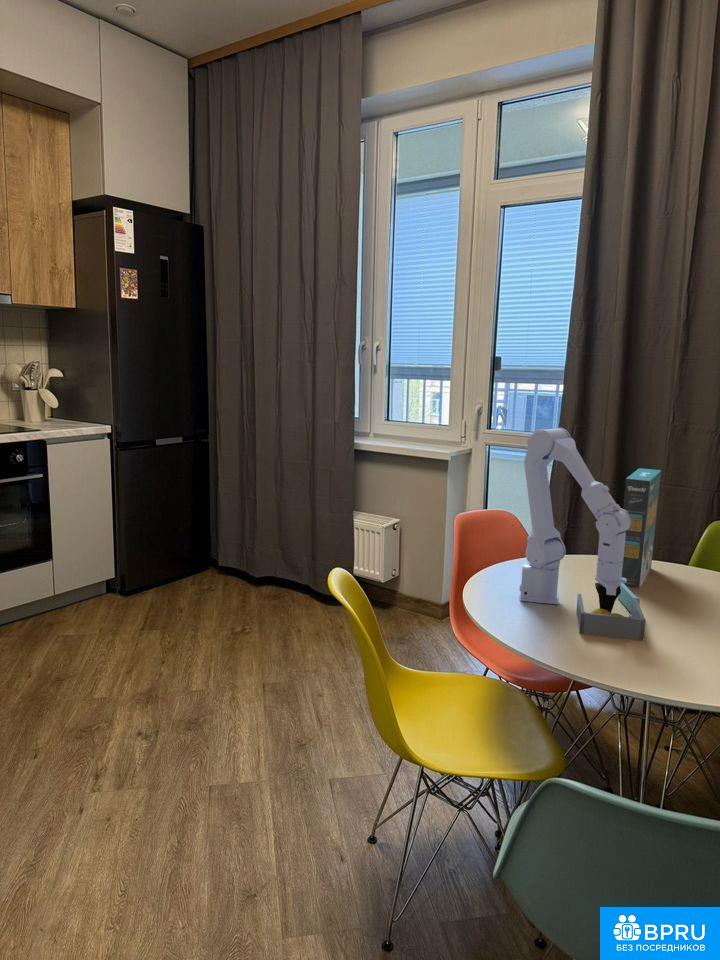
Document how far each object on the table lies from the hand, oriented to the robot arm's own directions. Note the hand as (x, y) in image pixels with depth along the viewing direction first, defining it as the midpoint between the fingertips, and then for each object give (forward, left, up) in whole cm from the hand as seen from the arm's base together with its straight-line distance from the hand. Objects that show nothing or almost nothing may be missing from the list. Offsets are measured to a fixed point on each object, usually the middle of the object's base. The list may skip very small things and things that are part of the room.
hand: (605, 614), depth 163 cm
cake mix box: (+11, +37, -1) cm, 39 cm away
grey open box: (+1, -4, -1) cm, 4 cm away
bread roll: (0, -5, -2) cm, 6 cm away
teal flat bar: (+6, +9, 0) cm, 11 cm away
